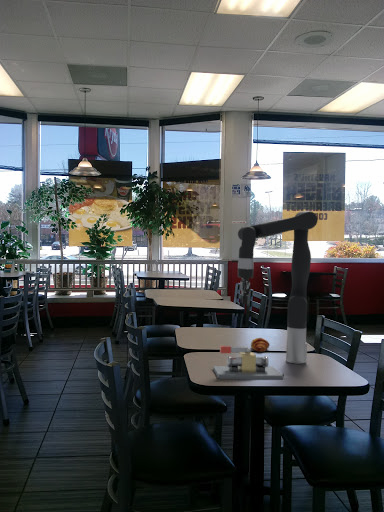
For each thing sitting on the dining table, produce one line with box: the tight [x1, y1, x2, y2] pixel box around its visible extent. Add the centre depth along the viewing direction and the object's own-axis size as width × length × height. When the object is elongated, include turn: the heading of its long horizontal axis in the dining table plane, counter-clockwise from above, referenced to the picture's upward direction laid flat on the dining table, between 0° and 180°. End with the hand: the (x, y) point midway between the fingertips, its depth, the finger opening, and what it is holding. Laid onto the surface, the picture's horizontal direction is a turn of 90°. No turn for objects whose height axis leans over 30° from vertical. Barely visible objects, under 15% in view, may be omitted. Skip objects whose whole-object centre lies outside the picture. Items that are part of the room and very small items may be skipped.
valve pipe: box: [226, 351, 269, 373], centre depth 202 cm, size 18×6×8 cm, turn 96°
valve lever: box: [219, 345, 252, 354], centre depth 202 cm, size 14×3×3 cm, turn 97°
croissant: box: [250, 337, 270, 353], centre depth 255 cm, size 21×10×8 cm, turn 173°
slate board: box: [212, 365, 284, 380], centre depth 202 cm, size 28×15×2 cm, turn 96°
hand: (244, 303), depth 221 cm, fingers closed
